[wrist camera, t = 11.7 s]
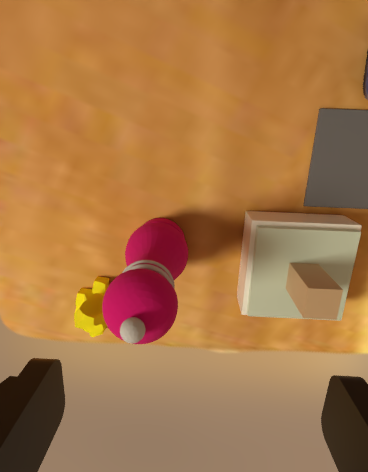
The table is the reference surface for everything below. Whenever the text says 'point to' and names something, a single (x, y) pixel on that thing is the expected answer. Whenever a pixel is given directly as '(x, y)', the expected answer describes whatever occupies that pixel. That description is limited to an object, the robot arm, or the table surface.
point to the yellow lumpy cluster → (91, 307)
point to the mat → (339, 160)
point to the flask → (366, 80)
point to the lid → (301, 272)
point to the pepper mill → (147, 283)
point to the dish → (278, 220)
